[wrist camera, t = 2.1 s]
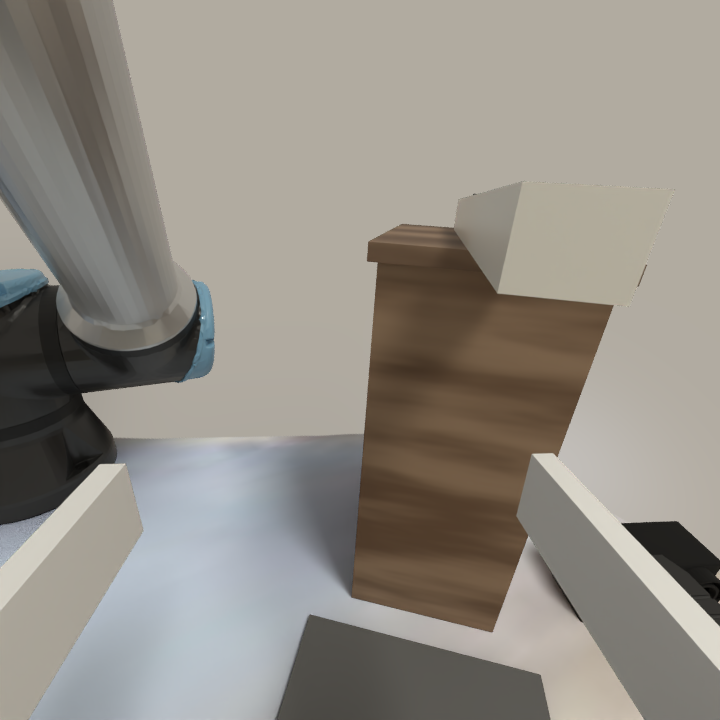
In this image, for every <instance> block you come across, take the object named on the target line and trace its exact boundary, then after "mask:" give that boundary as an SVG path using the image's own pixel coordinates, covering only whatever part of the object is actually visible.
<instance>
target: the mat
mask: <svg viewBox="0 0 720 720" xmlns="http://www.w3.org/2000/svg"><path fill="white" fill-rule="evenodd" d="M277 720H550V715H549V711H548V706H547V702H546V697H545V693H544V688H543V683H542V679H541V675H539V674H536V673H532V672H528V671H524V670H520V669H516V668H513V667H509V666H505V665H501V664H497V663H493V662H490V661H486V660H482V659H478V658H474V657H471V656H467V655H463V654H459V653H455V652H451V651H448V650H444V649H440V648H436V647H432V646H428V645H425V644H421V643H417V642H413V641H409V640H406V639H402V638H398V637H394V636H390V635H386V634H383V633H379V632H375V631H371V630H367V629H363V628H360V627H356V626H352V625H348V624H344V623H340V622H337V621H333V620H329V619H325V618H321V617H318V616H314V615H309V619H308V622H307V625H306V628H305V631H304V635H303V638H302V641H301V644H300V648H299V651H298V654H297V657H296V660H295V664H294V667H293V670H292V673H291V676H290V680H289V683H288V686H287V689H286V692H285V696H284V699H283V702H282V705H281V708H280V712H279V715H278V718H277Z"/></svg>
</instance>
